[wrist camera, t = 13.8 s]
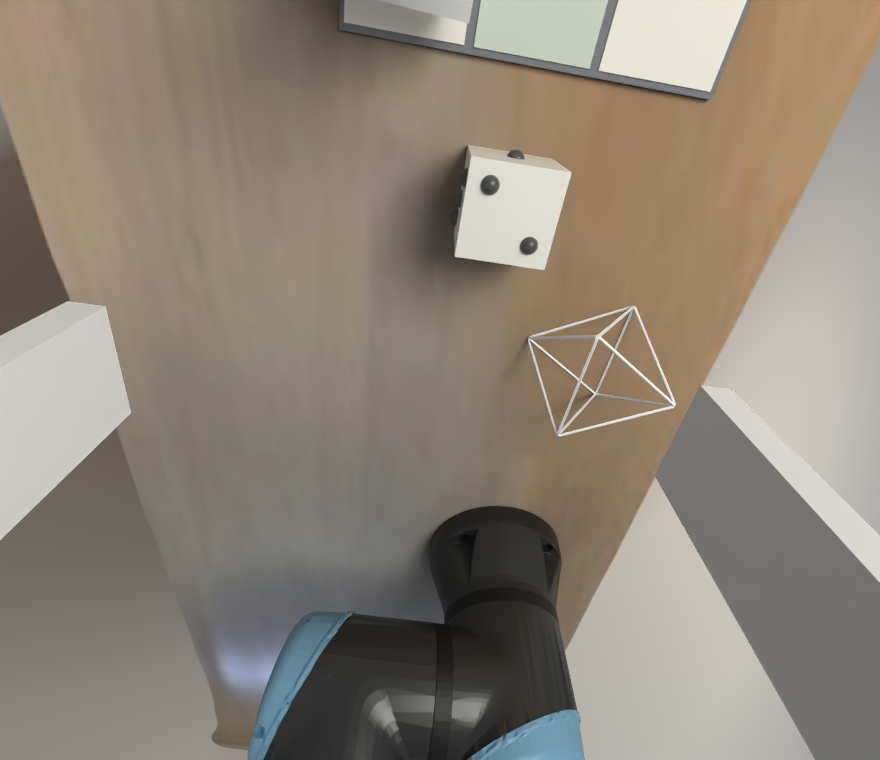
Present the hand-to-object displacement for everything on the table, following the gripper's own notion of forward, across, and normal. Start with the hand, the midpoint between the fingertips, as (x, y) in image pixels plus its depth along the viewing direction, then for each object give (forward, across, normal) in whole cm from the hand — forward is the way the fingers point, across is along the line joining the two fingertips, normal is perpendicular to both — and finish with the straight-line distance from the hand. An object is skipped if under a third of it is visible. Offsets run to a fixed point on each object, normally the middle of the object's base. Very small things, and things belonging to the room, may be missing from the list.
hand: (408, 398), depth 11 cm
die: (+27, -5, -1) cm, 27 cm away
